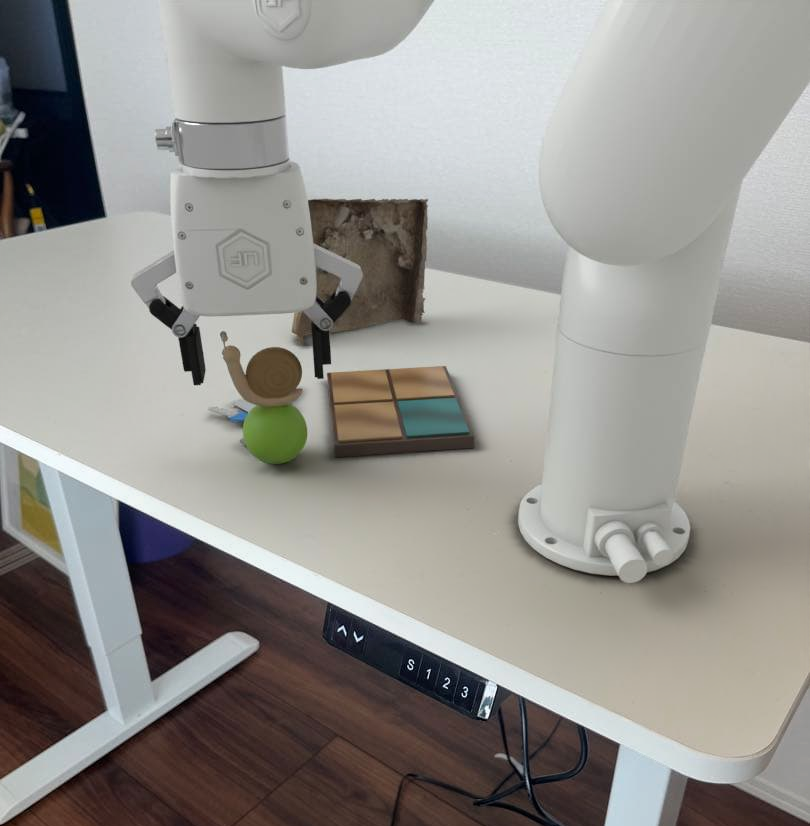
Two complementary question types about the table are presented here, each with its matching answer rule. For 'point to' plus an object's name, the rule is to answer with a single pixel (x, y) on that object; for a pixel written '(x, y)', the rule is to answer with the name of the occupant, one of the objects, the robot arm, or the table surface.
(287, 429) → the snail figurine
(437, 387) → the game board
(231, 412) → the key chain
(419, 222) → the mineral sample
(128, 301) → the table surface
